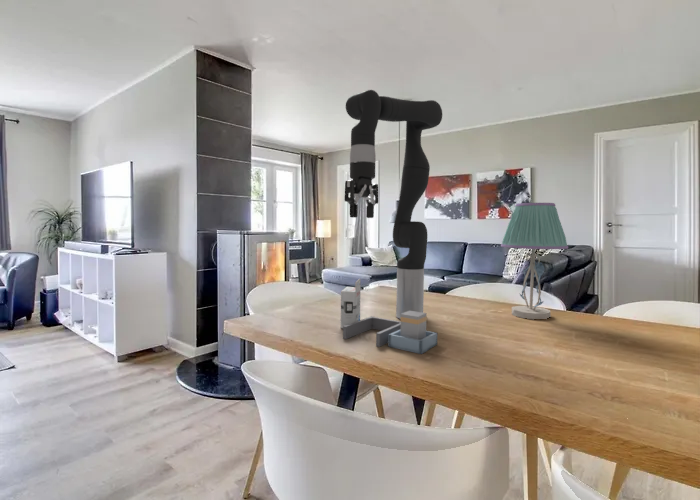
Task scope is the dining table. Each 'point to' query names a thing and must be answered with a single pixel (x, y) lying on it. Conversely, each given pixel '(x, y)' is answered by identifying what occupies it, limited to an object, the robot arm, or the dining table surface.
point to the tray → (412, 342)
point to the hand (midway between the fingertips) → (362, 217)
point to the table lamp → (534, 246)
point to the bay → (372, 323)
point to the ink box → (350, 304)
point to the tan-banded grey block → (413, 325)
